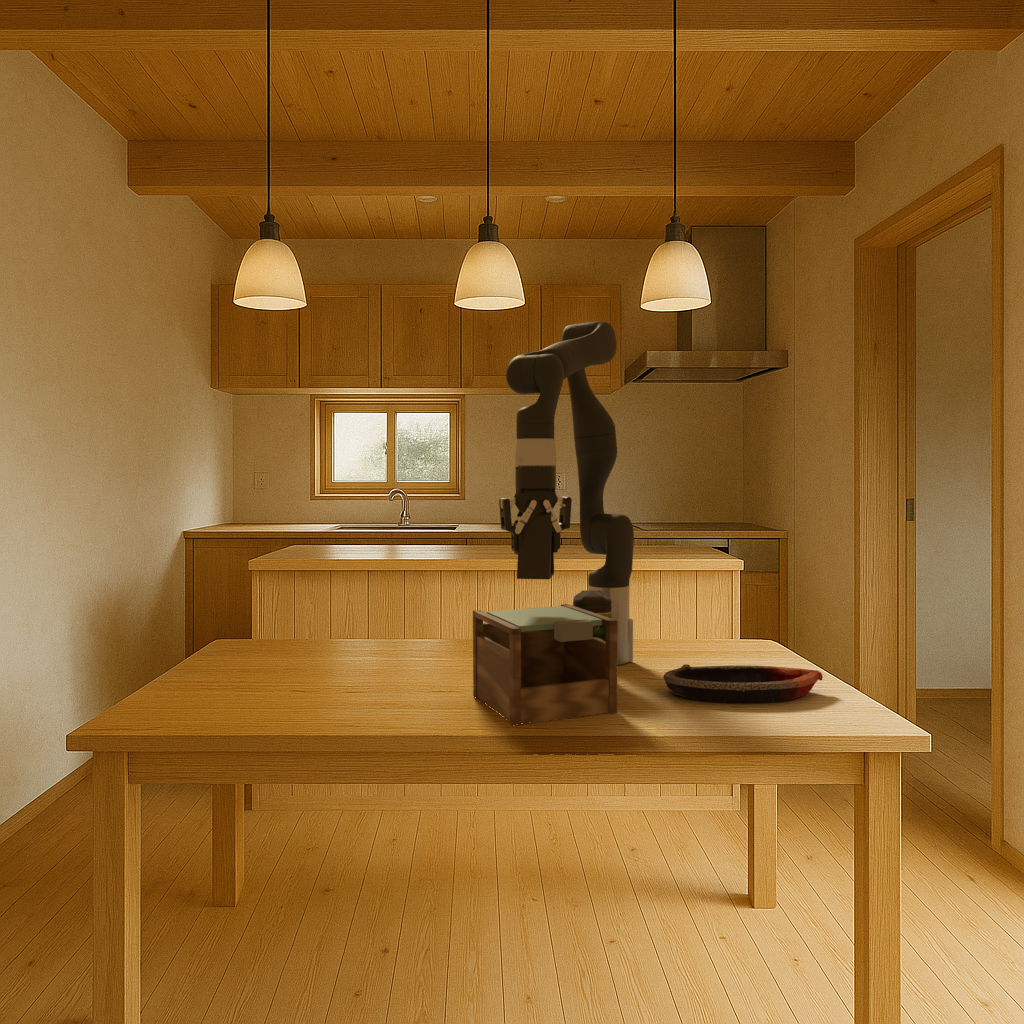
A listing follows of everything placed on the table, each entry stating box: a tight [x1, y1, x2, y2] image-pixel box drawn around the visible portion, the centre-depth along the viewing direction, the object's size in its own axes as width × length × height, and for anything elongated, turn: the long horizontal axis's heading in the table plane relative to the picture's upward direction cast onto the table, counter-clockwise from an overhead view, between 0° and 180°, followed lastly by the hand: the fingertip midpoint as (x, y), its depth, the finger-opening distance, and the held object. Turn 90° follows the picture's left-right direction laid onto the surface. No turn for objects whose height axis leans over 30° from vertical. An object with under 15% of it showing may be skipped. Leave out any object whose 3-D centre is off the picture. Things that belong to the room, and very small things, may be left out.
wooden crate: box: [472, 603, 618, 726], centre depth 154 cm, size 20×20×16 cm
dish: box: [662, 664, 823, 704], centre depth 161 cm, size 16×31×5 cm, turn 90°
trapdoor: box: [485, 605, 602, 642], centre depth 151 cm, size 16×22×3 cm
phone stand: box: [516, 512, 555, 580], centre depth 156 cm, size 9×6×12 cm, turn 171°
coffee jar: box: [572, 589, 612, 642], centre depth 170 cm, size 10×8×19 cm
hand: (535, 553), depth 156 cm, fingers closed on phone stand, 6 cm apart
